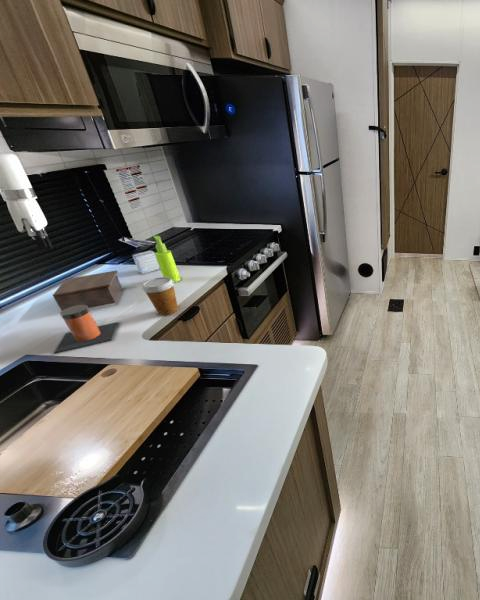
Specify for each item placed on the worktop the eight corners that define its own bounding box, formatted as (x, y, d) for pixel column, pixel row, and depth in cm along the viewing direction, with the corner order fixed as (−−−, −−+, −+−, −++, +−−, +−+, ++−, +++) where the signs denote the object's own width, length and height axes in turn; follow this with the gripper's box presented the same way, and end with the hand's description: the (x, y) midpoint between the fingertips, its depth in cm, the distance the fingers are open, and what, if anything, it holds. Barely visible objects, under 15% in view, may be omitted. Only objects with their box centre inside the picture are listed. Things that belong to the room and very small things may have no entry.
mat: (54, 353, 101) (54, 352, 101) (66, 334, 110) (66, 333, 110) (111, 340, 107) (111, 339, 106) (118, 322, 116) (117, 322, 116)
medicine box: (157, 266, 161) (150, 250, 157) (161, 268, 159) (154, 251, 155) (138, 272, 156) (131, 254, 152) (142, 274, 153) (135, 256, 149)
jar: (72, 344, 104) (56, 317, 99) (78, 333, 109) (63, 307, 105) (98, 338, 107) (84, 311, 102) (103, 328, 112) (89, 302, 107)
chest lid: (117, 272, 137) (116, 270, 136) (110, 286, 125) (109, 284, 124) (66, 281, 130) (65, 279, 129) (53, 297, 118) (52, 295, 117)
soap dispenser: (177, 275, 152) (162, 233, 142) (182, 280, 147) (166, 236, 138) (163, 279, 148) (146, 236, 139) (167, 284, 144) (150, 239, 134)
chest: (122, 289, 140) (115, 273, 136) (116, 304, 128) (108, 287, 124) (75, 297, 133) (66, 281, 130) (63, 314, 121) (53, 297, 118)
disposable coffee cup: (174, 302, 129) (163, 274, 123) (188, 308, 124) (177, 279, 119) (148, 313, 122) (135, 284, 116) (161, 320, 117) (149, 290, 112)
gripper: (12, 192, 111) (39, 244, 119) (-9, 199, 99) (23, 257, 107) (42, 190, 114) (66, 241, 122) (25, 197, 102) (53, 253, 111)
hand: (46, 249), depth 115 cm, fingers closed
